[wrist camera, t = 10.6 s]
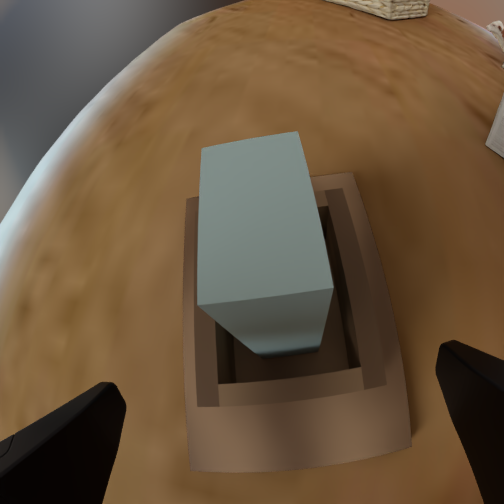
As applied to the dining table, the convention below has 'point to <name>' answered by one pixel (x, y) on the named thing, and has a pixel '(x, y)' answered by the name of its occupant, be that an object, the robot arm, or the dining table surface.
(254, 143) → the pale blue rectangular block
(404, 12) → the storage basket
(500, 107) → the small box
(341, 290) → the board
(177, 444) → the dining table surface
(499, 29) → the bull figurine
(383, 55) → the dining table surface
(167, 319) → the dining table surface
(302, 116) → the dining table surface
